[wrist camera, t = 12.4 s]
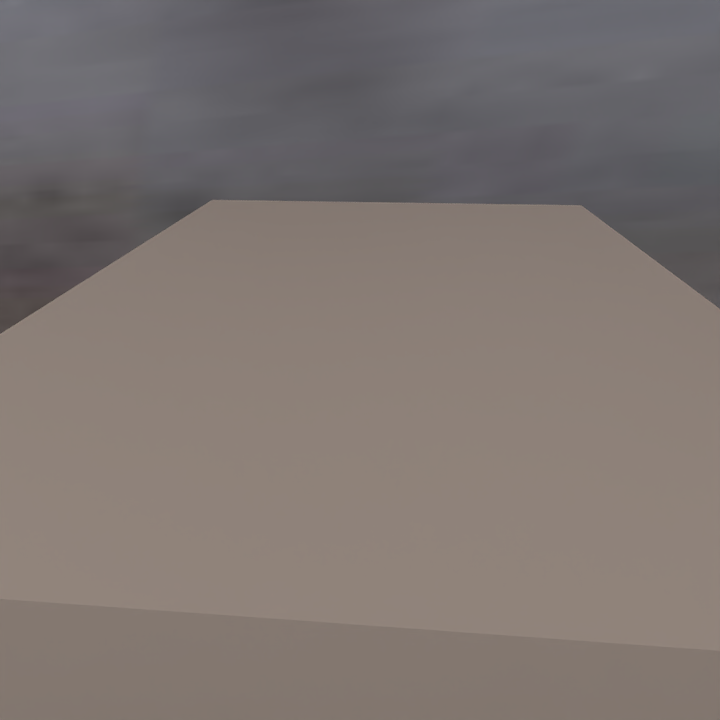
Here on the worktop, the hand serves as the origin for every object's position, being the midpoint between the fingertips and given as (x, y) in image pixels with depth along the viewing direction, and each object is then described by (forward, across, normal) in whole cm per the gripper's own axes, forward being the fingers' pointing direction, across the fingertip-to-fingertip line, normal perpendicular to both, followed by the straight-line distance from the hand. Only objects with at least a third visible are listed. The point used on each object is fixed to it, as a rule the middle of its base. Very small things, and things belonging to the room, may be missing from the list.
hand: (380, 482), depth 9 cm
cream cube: (+3, 0, 0) cm, 3 cm away
